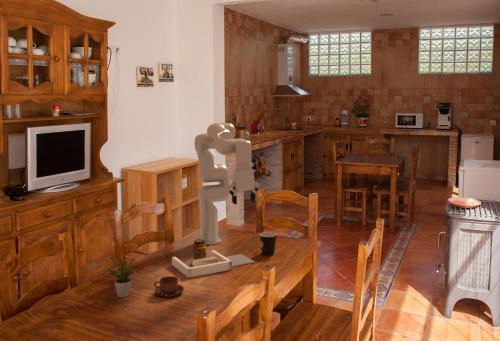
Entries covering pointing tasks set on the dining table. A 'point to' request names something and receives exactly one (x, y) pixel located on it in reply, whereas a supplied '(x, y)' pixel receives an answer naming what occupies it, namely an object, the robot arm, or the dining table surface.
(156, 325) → the dining table surface
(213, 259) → the offcuts
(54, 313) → the dining table surface
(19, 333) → the dining table surface
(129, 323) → the dining table surface
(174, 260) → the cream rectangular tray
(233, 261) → the mat
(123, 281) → the house plant
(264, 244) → the coffee mug
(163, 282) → the cup and saucer
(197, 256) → the condiment
